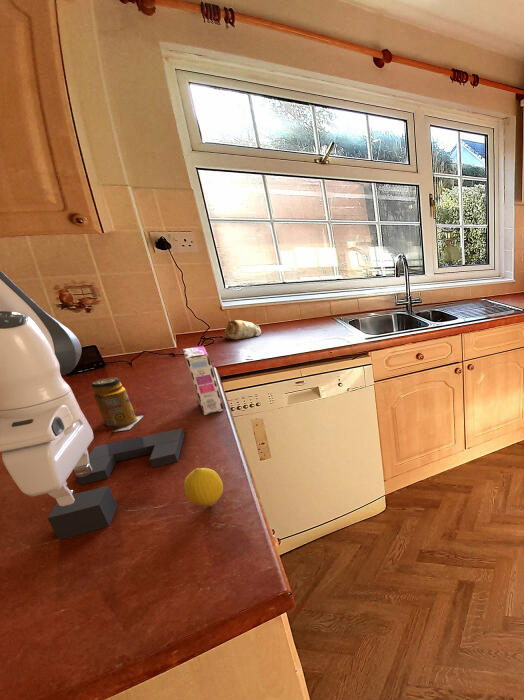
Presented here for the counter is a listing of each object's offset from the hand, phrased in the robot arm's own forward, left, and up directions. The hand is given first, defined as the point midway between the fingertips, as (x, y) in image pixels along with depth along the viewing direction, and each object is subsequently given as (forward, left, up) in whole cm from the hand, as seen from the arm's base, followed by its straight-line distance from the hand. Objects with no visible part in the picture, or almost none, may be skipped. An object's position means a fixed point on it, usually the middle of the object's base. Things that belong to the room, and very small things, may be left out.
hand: (77, 488), depth 72 cm
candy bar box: (+16, +46, -7) cm, 49 cm away
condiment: (-4, +46, -7) cm, 47 cm away
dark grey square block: (0, 0, -7) cm, 7 cm away
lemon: (+18, -6, -7) cm, 20 cm away
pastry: (+24, +129, -7) cm, 131 cm away
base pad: (+3, +23, -7) cm, 24 cm away
